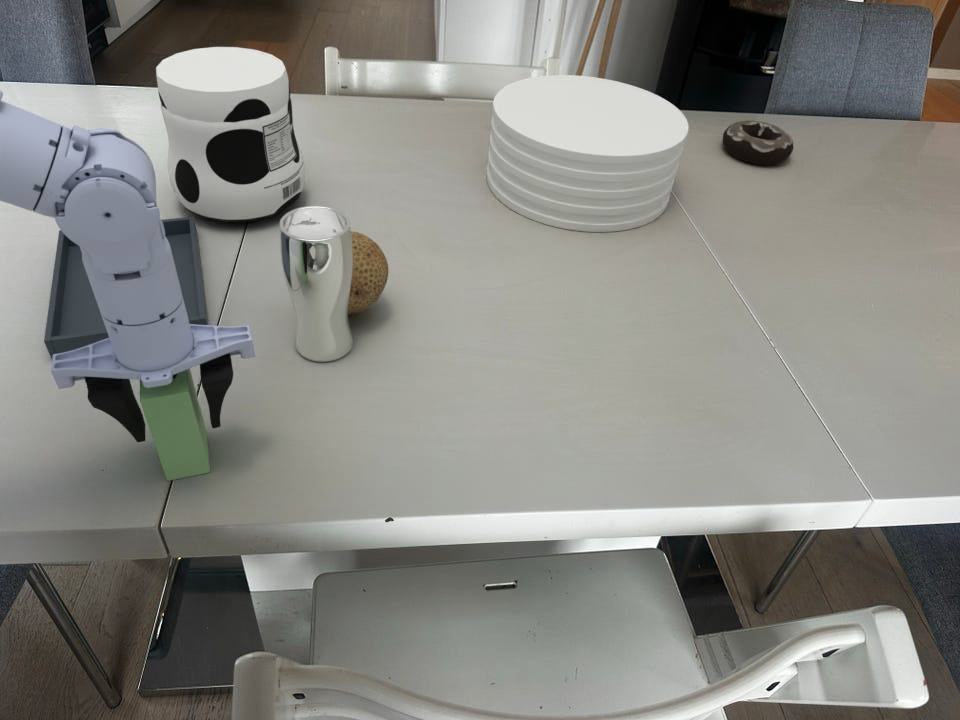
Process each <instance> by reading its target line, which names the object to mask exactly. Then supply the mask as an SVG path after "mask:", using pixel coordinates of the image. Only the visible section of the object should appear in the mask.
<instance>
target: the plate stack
mask: <svg viewBox="0 0 960 720" xmlns="http://www.w3.org/2000/svg"><path fill="white" fill-rule="evenodd" d="M689 128H690V127H689V122H688V119H687V118H686V116H685V115H684V113H683V112H682V111H681V110H680V109H679V108H678V107H677V106H675V105H674V104H673V103H671V102H670V101H668V100H666V99H665V98H663V97H661V96H660V95H658V94H656V93H653V92H651V91H649V90H647V89H644V88H641V87H638V86H635V85H632V84H628V83H625V82H621V81H618V80H617V81H616V80H612V79H608V78H603V77H602V78H601V77H594V76H588V75H576V74H575V75H573V74H570V75H569V74H555V75H554V74H551V75H540V76H533V77H527V78H523V79H520V80H515V81H514V82H512V83H509V84H507V85H505V86H504V87H502V88H500V90H498V92H497V93H496V94H495V96H494V98H493V102H492V116H491V123H490V135H489V148H488V156H487V168H486V182H487V185H488V188H489V190H490V192H491V193H492V194H493V195H494V197H495V198H496V199H497V200H498V201H499V202H500V203H502V204H503V205H504V206H506V207H507V208H508V209H510V210H512V211H513V212H515V213H517V214H519V215H521V216H523V217H525V218H527V219H529V220H532V221H535V222H537V223H541V224H544V225H546V226H550V227H554V228H558V229H563V230H568V231H569V230H570V231H576V232H585V233H587V232H588V233H612V232H622V231H628V230H632V229H636V228H640V227H642V226H645V225H647V224H650V223H651V222H653V221H655V220H656V219H658V218H659V217H660V216H661V215H663V213H664V212H665V210H666V209H667V207H668V204H669V200H670V197H671V192H672V189H673V187H674V183H675V177H676V175H677V172H678V169H679V165H680V160H681V158H682V154H683V151H684V147H685V146H684V145H685V143H686V140H687V137H688V133H689Z"/></svg>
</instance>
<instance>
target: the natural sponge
mask: <svg viewBox="0 0 960 720" xmlns="http://www.w3.org/2000/svg"><path fill="white" fill-rule="evenodd" d="M351 236H352V243H353V254H354V275H353V284H352V290H351V296H350V302H349V309H348V315H357V314H360V313H362V312H365V311H366V310H368V309H369V308H371V307H372V306H373V305H374V304H376V302H377V301H378V300H379V299H380V297H381V295H382V294H383V292H384V290H385V287H386V285H387V282H388V279H389V263H388V260H387V257H386V255H385V253H384V252H383V250H382V248H381V247H380V246H379V244H377V243H376V242H375V241H374V240H373V239H372V238H370V237H369V236H367V235H366V234H363V233H360V232H358V231H353V230H351Z"/></svg>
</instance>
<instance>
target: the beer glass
mask: <svg viewBox="0 0 960 720" xmlns="http://www.w3.org/2000/svg"><path fill="white" fill-rule="evenodd" d="M351 231H352V229H351V221H350V218H349V216H348V215H347V214H346V213H345V212H343V211H342V210H339V209H337V208H335V207H330V206H326V205H307V206H305V205H304V206H301V207H297V208H294V209H292V210H290V211H288V212H286V213H285V214H284V215H283V216H282V217H281V218H280V220H279V233H280V235H279V238H280V239H279V241H280V242H279V243H280V259H281V267H282V274H283V278H284V282H285V285H286V289H287V292H288V294H289V298H290V300H291V303H292V306H293V311H294V312H295V318H296V326H297V327H296V333H295V347H296V351H297V352H298V354H299V355H301V356H302V357H303V358H305V359H307V360H309V361H312V362H318V363H319V362H321V363H327V362H333V361H337V360H339V359H342V358H343V357H345V356H346V355H348V353H349V352H351V350H352V348H353V345H354V338H353V333H352V330H351V326H350V322H349V314H348V309H349V302H350V296H351V290H352V284H353V275H354V254H353V243H352V236H351Z"/></svg>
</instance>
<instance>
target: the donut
mask: <svg viewBox="0 0 960 720" xmlns="http://www.w3.org/2000/svg"><path fill="white" fill-rule="evenodd" d="M722 145H723V146H724V147H723V148H725V150H726V151H727V152H728V153H729V154H730V155H731V156H733V157H735V158H736V159H738V160H741V161H744V162H745V163H750V164H753V165H759V166H760V165H761V166H770V165H771V166H772V165H775V164H780V163H782V162H784V161H786V160H788V159H789V157H791V156H792V155H791V154H792V153H793V151H794V141H793V138H792V137H791V135H790V134H789V133H788V132H787V131H786V130H784V129H783V128H781V127H779V126H778V125H774V124H771V123H769V122H765V121H759V120H748V119H747V120H739V121H736V122H734V123H732V124H729V126H727V128H726V129H725V130H724V132H723V134H722Z"/></svg>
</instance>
